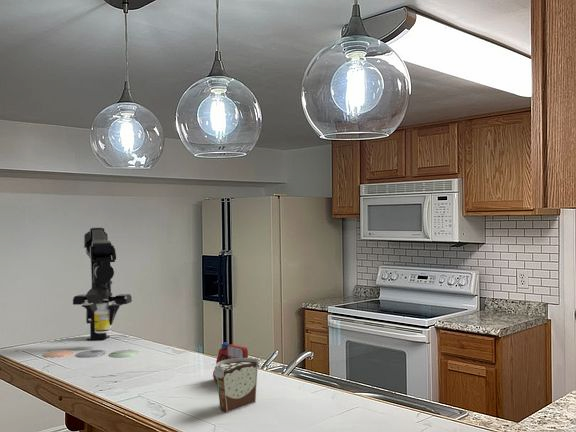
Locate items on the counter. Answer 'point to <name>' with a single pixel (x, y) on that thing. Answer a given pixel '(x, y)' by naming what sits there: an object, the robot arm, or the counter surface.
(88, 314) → the robot arm
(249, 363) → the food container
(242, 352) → the toy fire truck
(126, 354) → the sage coaster
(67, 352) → the terracotta coaster
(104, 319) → the supplement bottle
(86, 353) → the slate coaster
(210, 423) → the counter surface
